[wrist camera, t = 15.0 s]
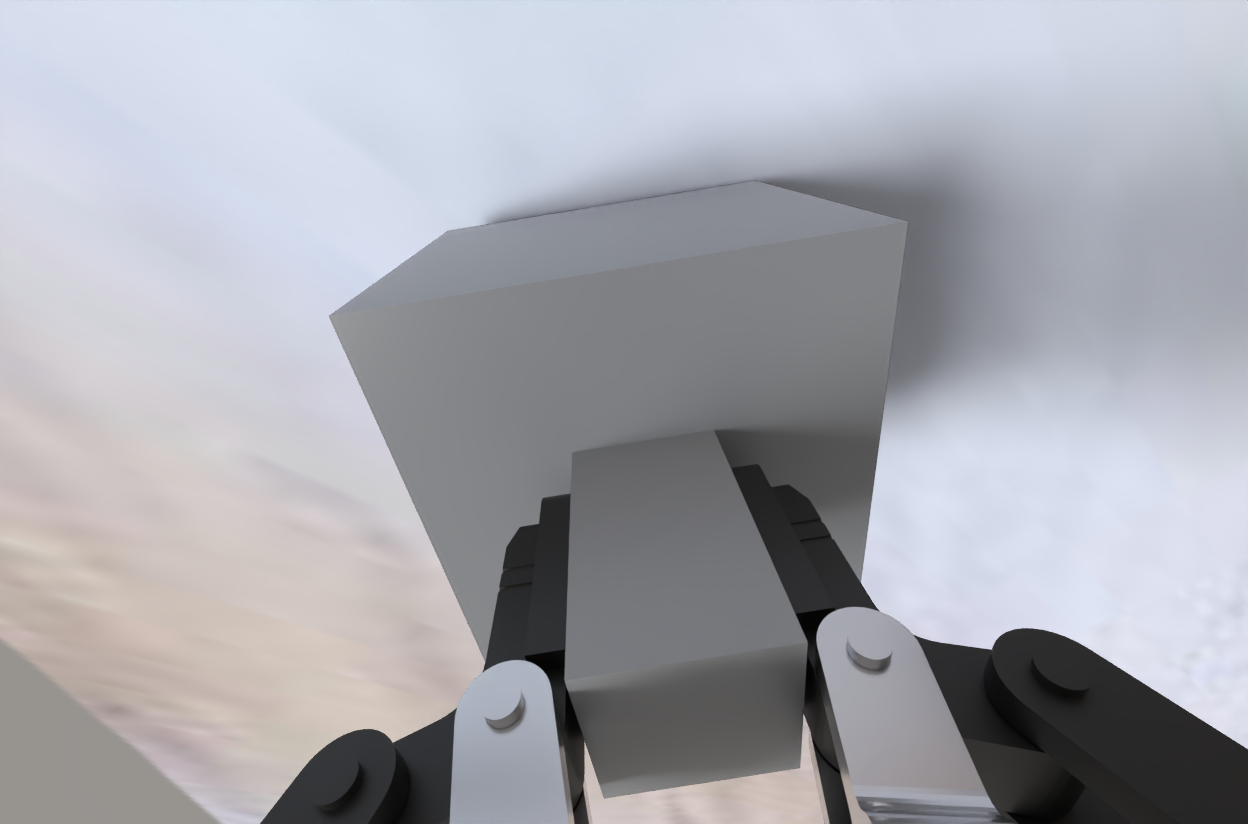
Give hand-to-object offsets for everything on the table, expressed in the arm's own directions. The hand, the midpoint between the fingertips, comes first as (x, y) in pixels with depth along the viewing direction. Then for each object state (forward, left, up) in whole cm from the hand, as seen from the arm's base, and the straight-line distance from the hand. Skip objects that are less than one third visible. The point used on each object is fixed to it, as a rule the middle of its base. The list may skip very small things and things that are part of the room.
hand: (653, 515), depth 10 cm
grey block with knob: (0, 0, -10) cm, 10 cm away
